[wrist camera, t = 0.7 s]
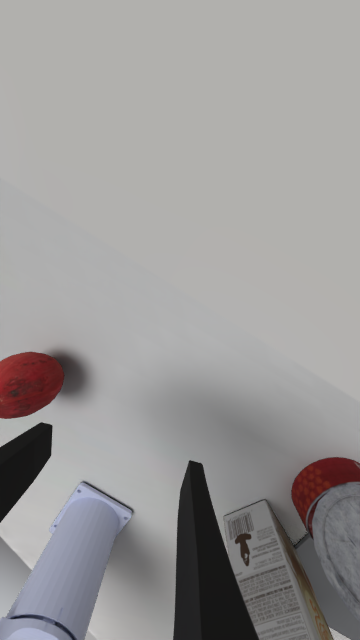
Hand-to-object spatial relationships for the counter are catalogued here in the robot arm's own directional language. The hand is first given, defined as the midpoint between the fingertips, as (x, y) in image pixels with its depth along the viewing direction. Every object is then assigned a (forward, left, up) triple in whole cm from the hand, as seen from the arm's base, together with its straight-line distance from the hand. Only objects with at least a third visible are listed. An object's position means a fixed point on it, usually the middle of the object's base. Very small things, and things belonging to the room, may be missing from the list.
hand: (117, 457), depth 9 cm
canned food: (-2, -26, -12) cm, 29 cm away
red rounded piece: (-7, +10, -11) cm, 16 cm away
